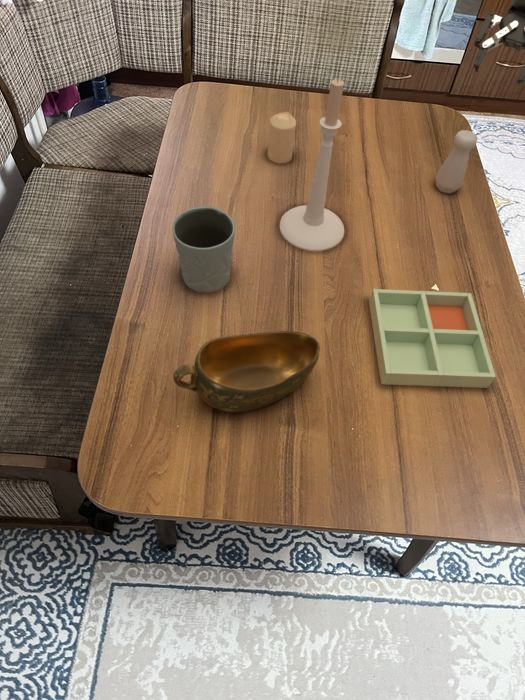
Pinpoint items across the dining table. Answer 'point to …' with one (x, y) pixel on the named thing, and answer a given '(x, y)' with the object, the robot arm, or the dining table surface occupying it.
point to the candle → (281, 137)
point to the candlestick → (318, 192)
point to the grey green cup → (204, 247)
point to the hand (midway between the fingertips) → (497, 77)
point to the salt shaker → (456, 163)
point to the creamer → (250, 369)
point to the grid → (429, 339)
